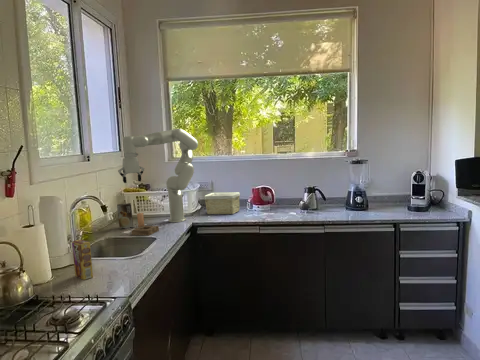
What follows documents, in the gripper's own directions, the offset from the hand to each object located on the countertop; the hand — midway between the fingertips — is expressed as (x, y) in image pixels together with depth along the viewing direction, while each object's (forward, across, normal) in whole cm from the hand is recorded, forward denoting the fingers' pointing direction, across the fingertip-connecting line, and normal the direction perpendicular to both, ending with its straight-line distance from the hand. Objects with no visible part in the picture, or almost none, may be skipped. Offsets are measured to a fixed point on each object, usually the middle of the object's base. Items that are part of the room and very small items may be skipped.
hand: (132, 182), depth 240 cm
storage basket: (+31, -68, +2) cm, 75 cm away
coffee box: (+31, +2, -11) cm, 33 cm away
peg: (+31, -3, +1) cm, 31 cm away
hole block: (+31, 0, +15) cm, 35 cm away
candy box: (+32, +51, +70) cm, 92 cm away
